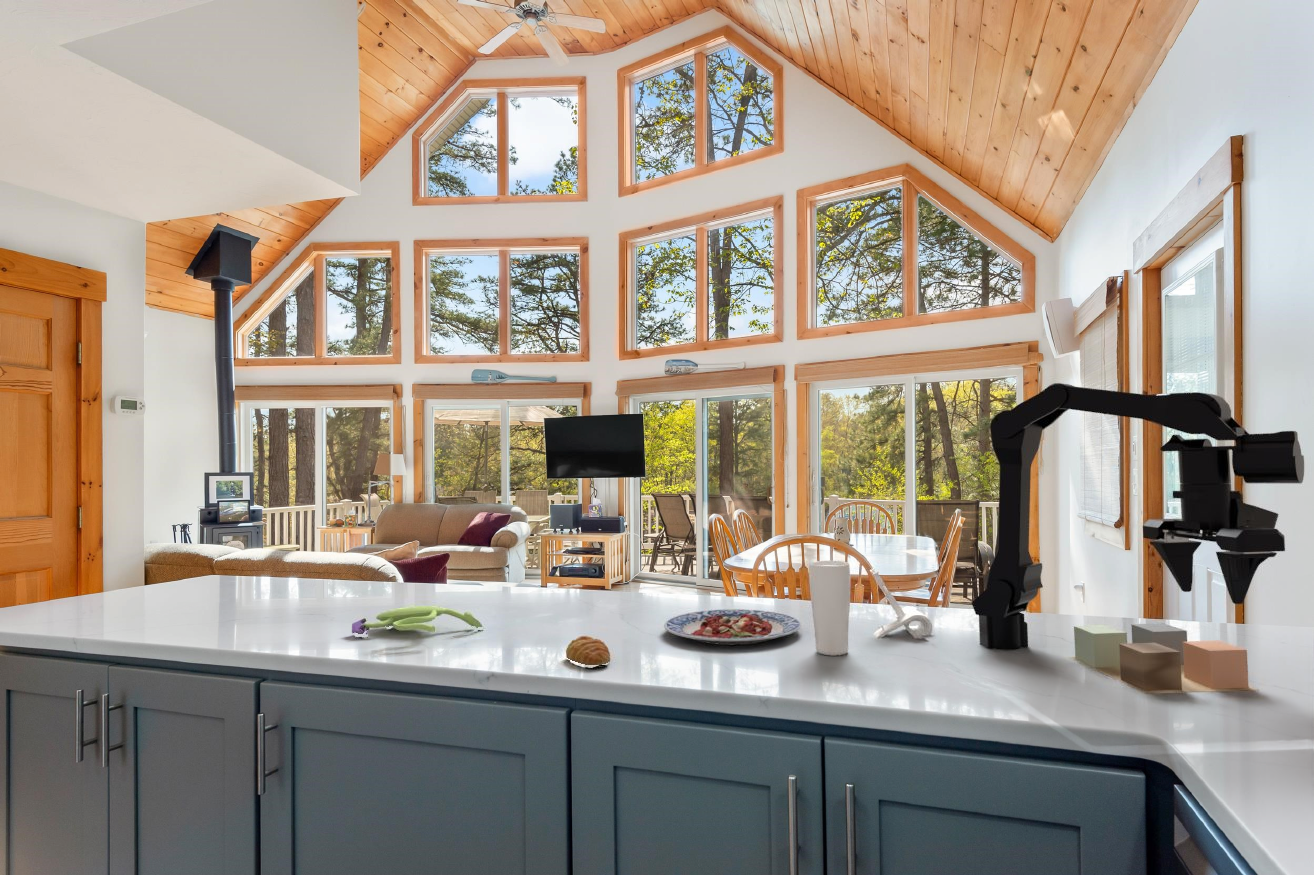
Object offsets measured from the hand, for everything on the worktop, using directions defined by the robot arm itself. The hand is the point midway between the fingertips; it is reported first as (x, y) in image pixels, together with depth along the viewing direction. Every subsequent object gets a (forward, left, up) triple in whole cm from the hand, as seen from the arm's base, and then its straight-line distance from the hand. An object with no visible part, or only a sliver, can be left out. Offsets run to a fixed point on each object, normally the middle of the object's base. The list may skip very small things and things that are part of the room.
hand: (1211, 597), depth 102 cm
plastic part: (-31, +36, -13) cm, 49 cm away
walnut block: (-9, 0, -12) cm, 15 cm away
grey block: (0, +11, -12) cm, 16 cm away
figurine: (-124, +48, -13) cm, 133 cm away
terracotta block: (0, 0, -12) cm, 12 cm away
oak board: (-5, +5, -12) cm, 14 cm away
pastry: (-87, +24, -13) cm, 91 cm away
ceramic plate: (-62, +40, -13) cm, 75 cm away
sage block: (-9, +11, -12) cm, 18 cm away
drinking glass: (-47, +24, -13) cm, 54 cm away
